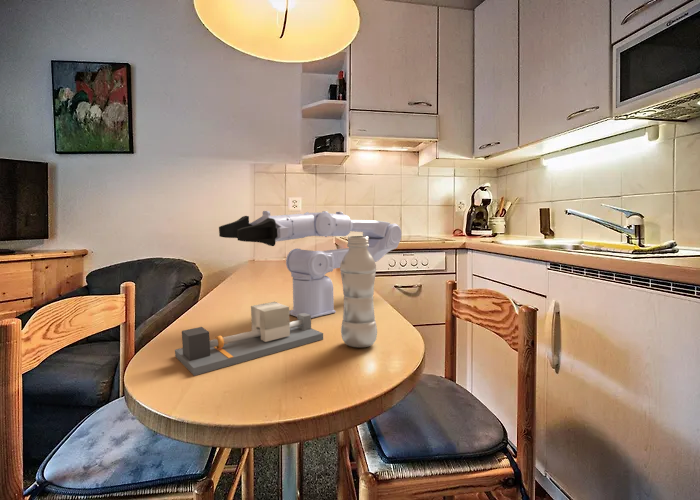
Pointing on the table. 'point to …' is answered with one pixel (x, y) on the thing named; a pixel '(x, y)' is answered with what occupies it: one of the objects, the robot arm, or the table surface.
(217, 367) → the rail board
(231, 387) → the table surface
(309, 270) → the robot arm
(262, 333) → the sleeve
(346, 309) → the plastic bottle
